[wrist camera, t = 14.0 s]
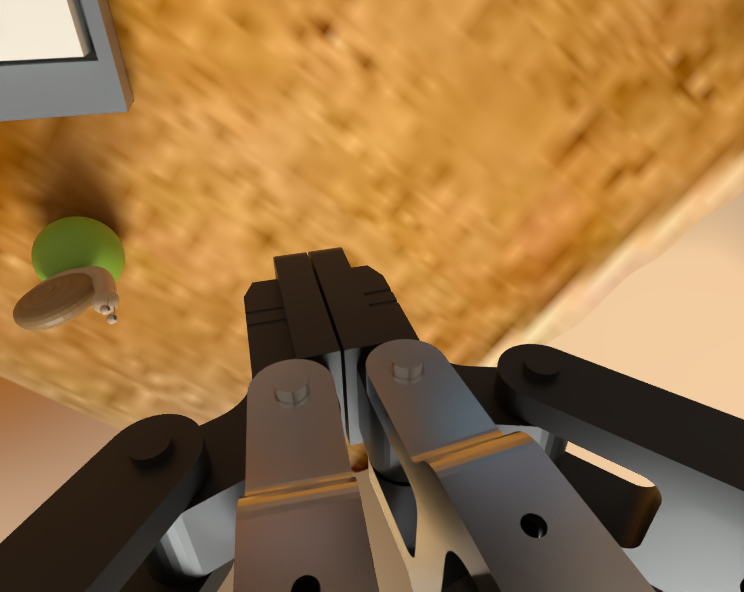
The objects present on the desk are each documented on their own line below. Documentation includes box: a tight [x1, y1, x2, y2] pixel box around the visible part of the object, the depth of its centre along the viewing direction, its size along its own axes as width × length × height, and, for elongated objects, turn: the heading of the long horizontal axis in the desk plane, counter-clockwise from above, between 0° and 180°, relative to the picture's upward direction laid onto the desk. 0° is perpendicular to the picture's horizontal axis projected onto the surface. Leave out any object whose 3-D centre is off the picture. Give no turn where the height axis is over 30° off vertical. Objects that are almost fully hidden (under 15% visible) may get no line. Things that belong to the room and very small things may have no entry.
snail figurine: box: [13, 216, 125, 330], centre depth 31 cm, size 5×6×12 cm
